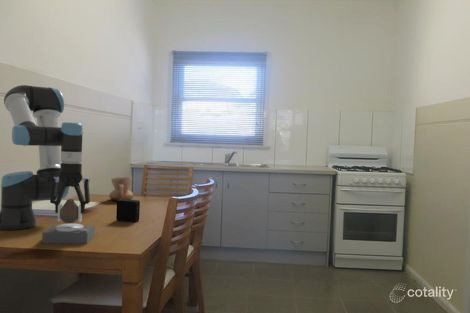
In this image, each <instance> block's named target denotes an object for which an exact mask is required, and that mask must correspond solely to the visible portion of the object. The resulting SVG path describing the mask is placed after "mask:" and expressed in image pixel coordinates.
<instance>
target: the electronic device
mask: <svg viewBox="0 0 470 313" xmlns="http://www.w3.org/2000/svg"><path fill="white" fill-rule="evenodd" d="M140 206H141V201H140V200H139V199H137V200H136V199H130V200H128V199H120V200H118V201H116V213H115V215H116V216H115V217H116V221H118V222H125V223H126V222H127V223H136V222H139V220H140Z"/></svg>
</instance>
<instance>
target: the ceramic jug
mask: <svg viewBox="0 0 470 313" xmlns="http://www.w3.org/2000/svg"><path fill="white" fill-rule="evenodd" d="M110 180H111V184H112V185H113V186H112V187H113V189H114V190H112V191H111V192H110V193H109V194H108V195H109V196H108V197H109V198H110V200H112V201H116V202H117V201H118V200H120V199H128V200H133V197H134V193H133V192H132V191H130V187H131V184H132V181H133V178H132V177H130V176H114V177H111V178H110Z"/></svg>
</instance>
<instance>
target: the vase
mask: <svg viewBox="0 0 470 313" xmlns="http://www.w3.org/2000/svg"><path fill="white" fill-rule="evenodd" d="M78 207H79V205H78V204H77V202H76V201H75V200H74V199H71V198H70V199H66V201H65V203H64V204H62V208H61V211H60V216H61V219H62V221H61V222H63V224H72V223H73V224H75V223H76V222H78Z"/></svg>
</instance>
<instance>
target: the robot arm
mask: <svg viewBox="0 0 470 313" xmlns="http://www.w3.org/2000/svg"><path fill="white" fill-rule="evenodd" d="M3 104H4V106H5V109H6V110H7V111H8V112H9V113H10V116H11V118H12V121H13V124H14V126H13V127H12V129H11V141H12V143H13V144H14V145H16V146H24V147H26V146H35V147H36V146H37V147H38V152H39V153H38V154H39V155H38V156H39V168H38V169H37V170H36V174H34V173H33V171H30V170H26V171H24V170H23V171H15V172H9V173H6V174H3V176H2V178H1V184H0V188H1V190H0V191H1V192H0V194H1V196H0V200H1V201H0V230H2V231H19V230H27V229H30V228H34V227H36V226H37V217H36V215H35V213H34V209H33V202H38V201H40V202H41V201H49V203H50V204H54V212H55V214H57V223H61V222H63V221H62V219H61V216H60V211H61V208H62V206H63V203H61V202H62V200H63V199H65V198H66V197H67V196H68V194H69V191H70V187H71V188H74V190H75V193H76V195H77V198H78V200H79V205H78V220H77V223H81V222H83V214H84V213H85V212H86V205H88V204H89V203H91V198H90V184H89V183H90V180H91V179H90V177H84V176H83V174H82V171H83V169H82V168H83V167H82V166H83V165H82V163H81V162H82V161H83V134H84V131H83V124H82V123H81V122H69V121H68V122H67V121H66V122H62V123H61V127H59V125H58V124H59V122H58V118H60V116H61V114H62V113H63V112H64V109H65V106H64V105H65V101H64V95H63V93H62V92H61V90H60V89H58V88H55V87H54V88H53V87H44V86H35V85H26V84H23V85H17V86H14V87H12V88H11V89H9V90H8V91H7V92H6V93H5V95H4V98H3ZM35 118H36V120H35ZM36 122H37V123H36ZM81 181H82V183H83V188H84V195H83V193H82V190H81V186H80V183H81Z"/></svg>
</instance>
